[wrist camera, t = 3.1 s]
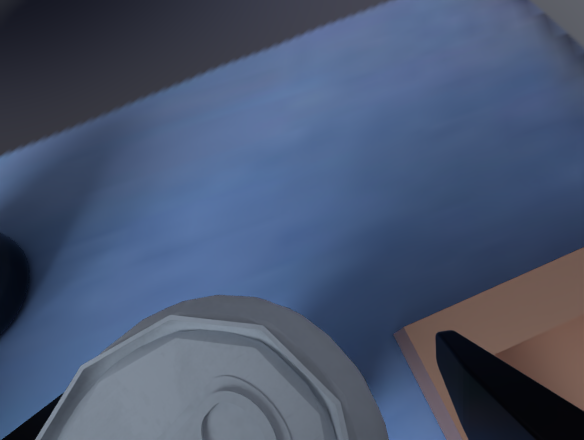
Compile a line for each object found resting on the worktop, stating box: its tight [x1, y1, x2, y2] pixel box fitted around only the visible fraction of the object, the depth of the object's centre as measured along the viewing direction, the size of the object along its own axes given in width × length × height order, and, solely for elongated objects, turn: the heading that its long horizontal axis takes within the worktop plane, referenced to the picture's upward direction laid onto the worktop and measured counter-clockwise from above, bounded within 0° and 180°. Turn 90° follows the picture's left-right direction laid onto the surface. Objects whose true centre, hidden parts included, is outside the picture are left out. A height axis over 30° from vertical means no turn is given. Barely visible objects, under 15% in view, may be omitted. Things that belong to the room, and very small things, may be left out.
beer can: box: [35, 295, 389, 440], centre depth 9 cm, size 5×5×12 cm
